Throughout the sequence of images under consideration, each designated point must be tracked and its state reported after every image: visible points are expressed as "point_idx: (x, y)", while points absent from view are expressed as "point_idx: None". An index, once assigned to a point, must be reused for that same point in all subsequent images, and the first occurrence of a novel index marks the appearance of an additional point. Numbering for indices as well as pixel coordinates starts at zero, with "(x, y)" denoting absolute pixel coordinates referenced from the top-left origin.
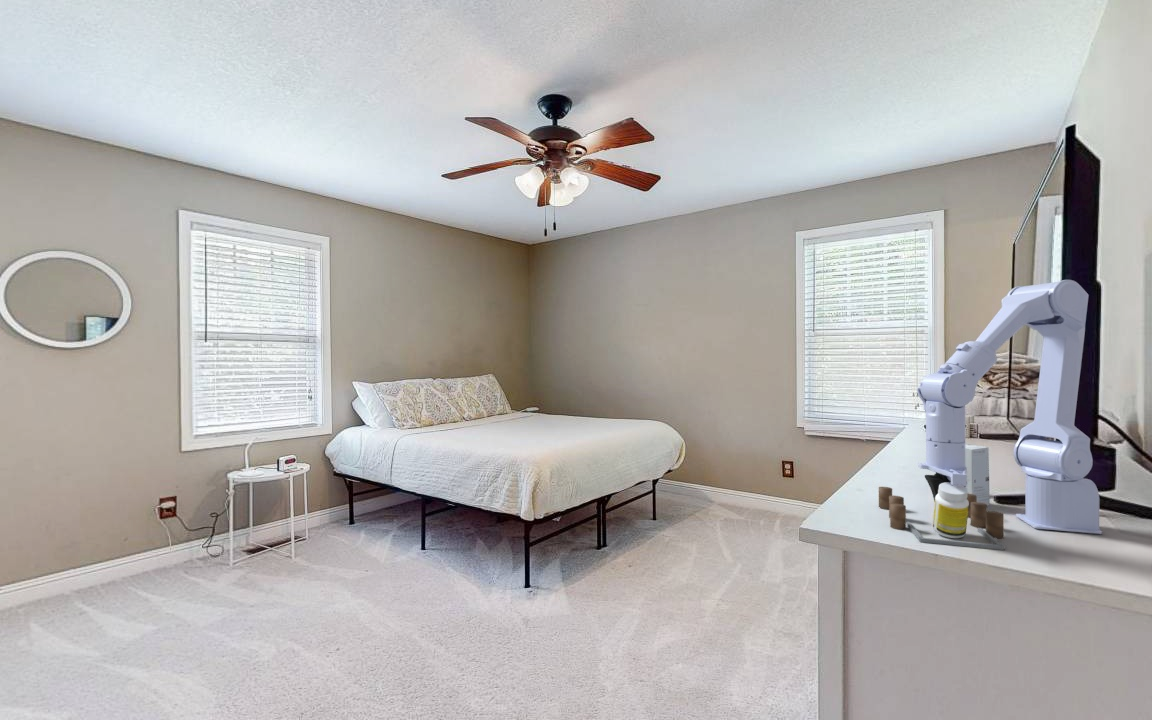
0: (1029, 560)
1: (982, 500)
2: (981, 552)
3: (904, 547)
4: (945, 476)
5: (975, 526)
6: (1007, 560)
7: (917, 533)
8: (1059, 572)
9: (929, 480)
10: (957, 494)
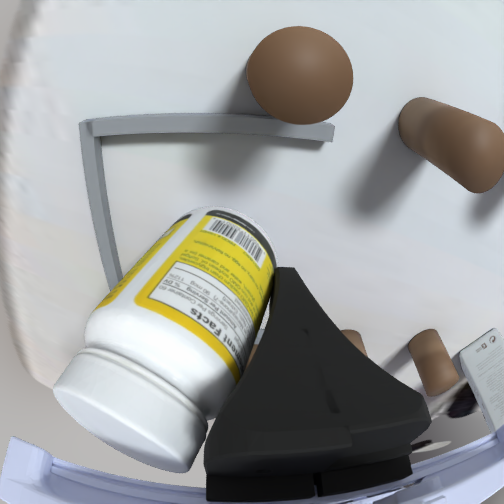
0: (82, 339)
1: (466, 376)
2: (76, 274)
3: (18, 64)
4: (211, 500)
5: None
6: (53, 303)
7: (142, 123)
8: (47, 347)
9: (270, 425)
10: (62, 406)
